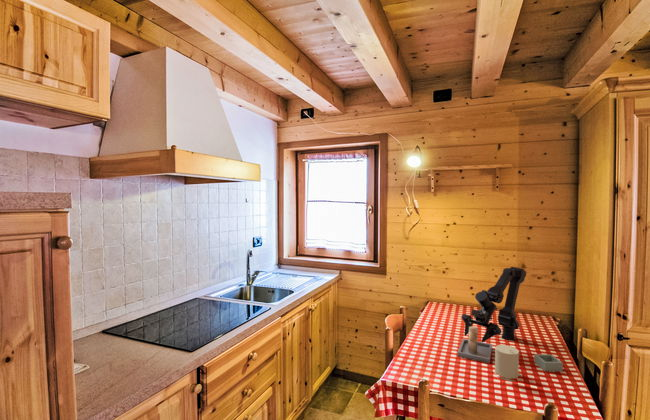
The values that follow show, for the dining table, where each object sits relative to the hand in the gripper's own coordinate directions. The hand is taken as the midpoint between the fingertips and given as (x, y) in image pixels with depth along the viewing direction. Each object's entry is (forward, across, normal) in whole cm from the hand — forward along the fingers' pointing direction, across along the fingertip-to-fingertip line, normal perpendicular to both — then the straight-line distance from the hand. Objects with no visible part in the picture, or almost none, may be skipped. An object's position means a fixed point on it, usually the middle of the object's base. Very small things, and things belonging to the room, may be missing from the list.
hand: (473, 338), depth 164 cm
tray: (+4, 0, +6) cm, 8 cm away
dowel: (+5, 0, +4) cm, 7 cm away
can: (+10, +20, 0) cm, 23 cm away
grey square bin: (-4, +28, +15) cm, 32 cm away
